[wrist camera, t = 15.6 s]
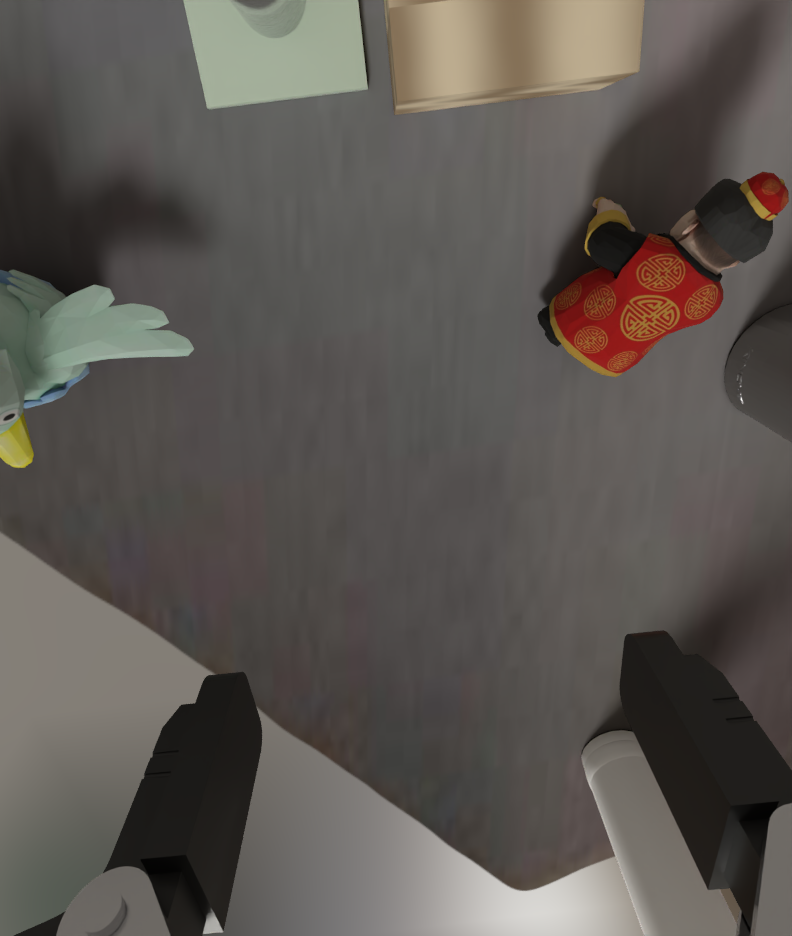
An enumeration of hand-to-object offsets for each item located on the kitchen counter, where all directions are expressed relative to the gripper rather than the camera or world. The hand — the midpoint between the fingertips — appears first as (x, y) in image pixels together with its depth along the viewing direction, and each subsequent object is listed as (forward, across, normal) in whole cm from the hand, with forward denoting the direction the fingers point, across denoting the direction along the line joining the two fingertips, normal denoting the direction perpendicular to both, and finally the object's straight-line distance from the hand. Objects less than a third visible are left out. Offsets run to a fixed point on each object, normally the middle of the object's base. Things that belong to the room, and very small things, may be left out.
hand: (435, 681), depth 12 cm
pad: (+33, +5, -20) cm, 39 cm away
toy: (+33, +25, -2) cm, 42 cm away
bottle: (+33, -20, +51) cm, 64 cm away
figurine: (+33, -17, -2) cm, 37 cm away
